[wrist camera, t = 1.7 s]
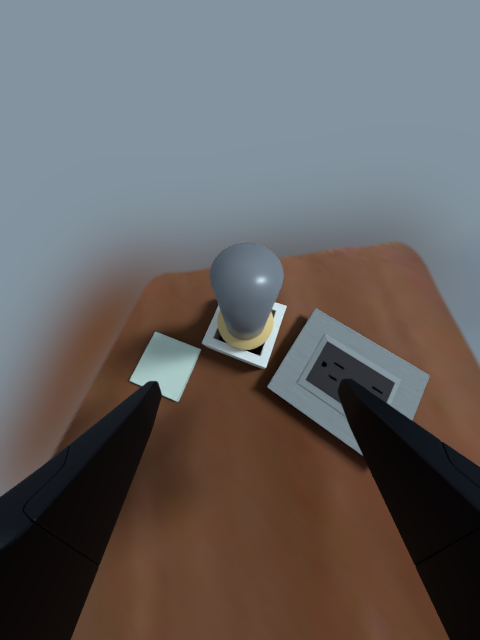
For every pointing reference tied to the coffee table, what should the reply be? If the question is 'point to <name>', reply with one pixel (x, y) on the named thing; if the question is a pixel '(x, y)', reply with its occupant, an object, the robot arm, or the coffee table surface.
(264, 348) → the frame
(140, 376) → the rubber pad
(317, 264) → the coffee table surface
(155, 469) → the coffee table surface
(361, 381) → the electrical outlet
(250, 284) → the grey tapered rounded cylinder
